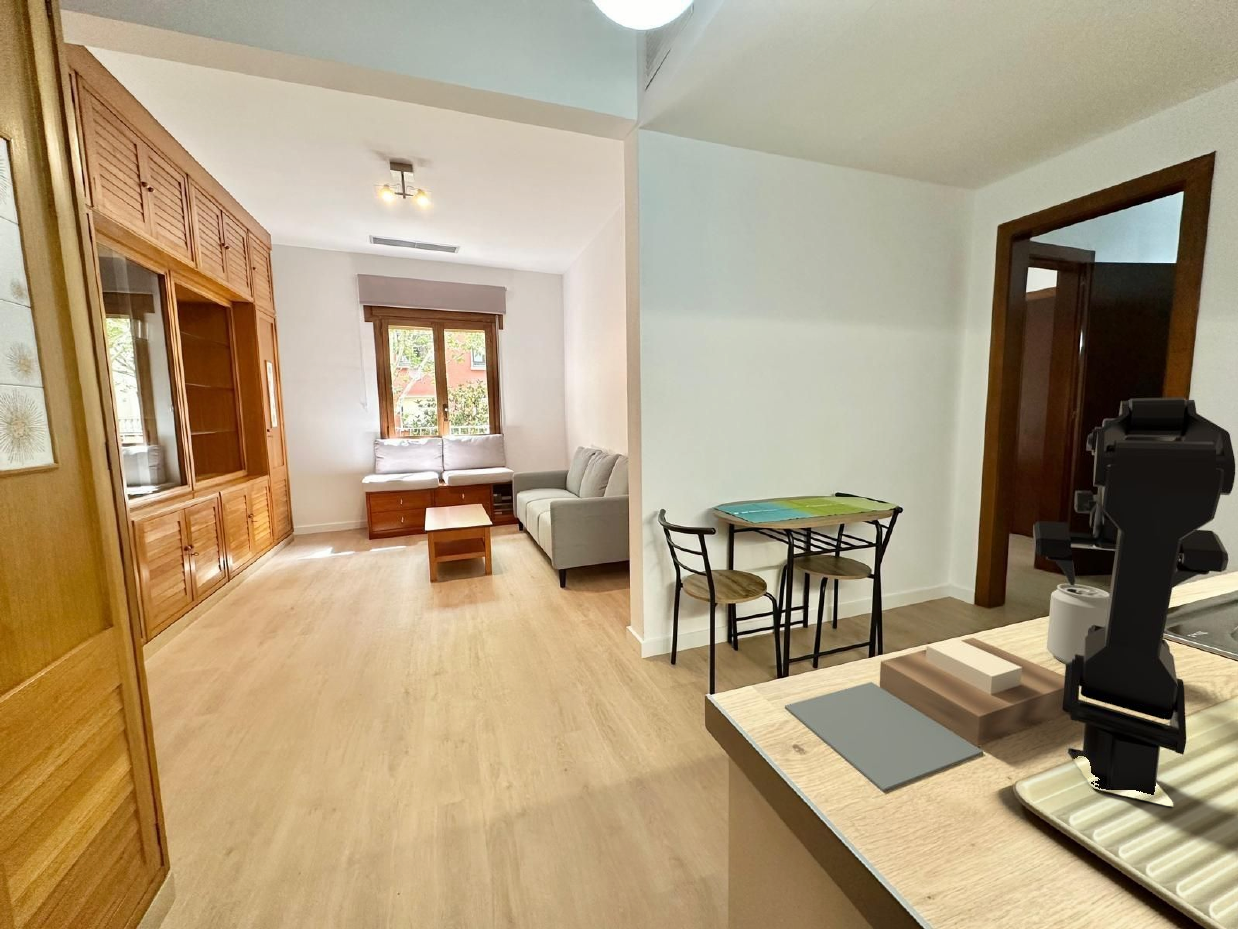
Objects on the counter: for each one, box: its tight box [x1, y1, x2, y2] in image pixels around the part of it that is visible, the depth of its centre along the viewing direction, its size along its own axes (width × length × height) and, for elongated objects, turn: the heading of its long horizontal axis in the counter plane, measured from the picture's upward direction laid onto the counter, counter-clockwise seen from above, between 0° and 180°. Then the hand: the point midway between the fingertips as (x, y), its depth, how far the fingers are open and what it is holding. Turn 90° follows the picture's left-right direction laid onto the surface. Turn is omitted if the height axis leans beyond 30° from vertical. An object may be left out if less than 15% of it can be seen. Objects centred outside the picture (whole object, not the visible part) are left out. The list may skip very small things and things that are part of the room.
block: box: [879, 637, 1069, 748], centre depth 68 cm, size 20×14×4 cm
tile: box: [925, 637, 1022, 695], centre depth 68 cm, size 6×9×2 cm, turn 20°
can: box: [1046, 583, 1110, 665], centre depth 78 cm, size 8×8×12 cm
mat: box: [784, 681, 984, 792], centre depth 62 cm, size 16×16×1 cm
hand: (1113, 588), depth 72 cm, fingers open, 9 cm apart
